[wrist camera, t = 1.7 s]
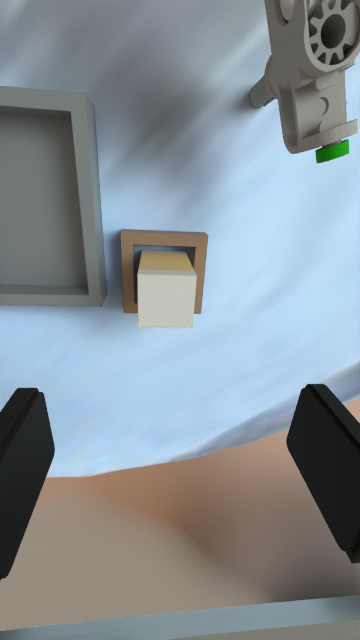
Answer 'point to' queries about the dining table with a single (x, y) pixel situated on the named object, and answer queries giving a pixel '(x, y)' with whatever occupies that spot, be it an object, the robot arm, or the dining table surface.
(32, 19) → the dining table surface
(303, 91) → the mechanical component
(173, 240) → the brown flat square frame
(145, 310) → the block
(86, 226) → the parts tray
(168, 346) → the dining table surface
